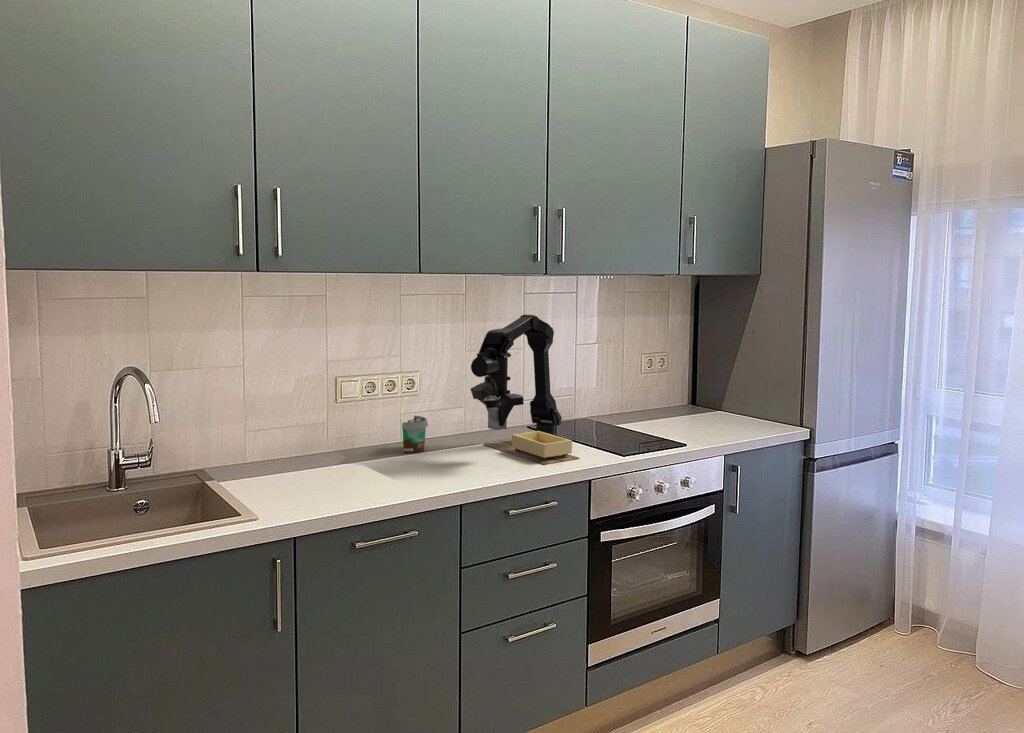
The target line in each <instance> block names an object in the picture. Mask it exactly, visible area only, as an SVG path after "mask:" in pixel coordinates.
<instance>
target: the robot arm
mask: <svg viewBox="0 0 1024 733" xmlns="http://www.w3.org/2000/svg"><path fill="white" fill-rule="evenodd" d="M523 335H524V336H526V339H527V340H526V341H527V345H528V346H529V348H530V350H531V351H532V353H533V370H534V388H535V390H534V391H535V392H534V393H535V395H534V397H533V398H532V400H530V402H529V405H530V406H529V408H530V410H529V413H530V417H531V423H532V424H535V426H536V427H535V429H534V431H541V432H544V433H548V434H551V435H555V436H558V435H557V434H558V433H557V428H558V426H560V425H561V424H562V420H563V417H562V415H561V413H560V411H559V410H558V408H557V401H556V399H555V398H554V396H553V395H552V393H551V379H550V378H551V377H550V358H549V356H550V354H549V350H550V348H551V346H552V345H553V342H554V335H555V332H554V329H553V327H552V326H551V324H549V323H547V322H546V321H544V320H542V319H540V318H539V317H538V316H537V315H535V314H526V313H525V314H522V315H520V316H519V317H518V318H517V319H516V320H514V321H512V322H510V324H508V325H506V326H504V327H502V328H493V329H490V330H488V331H487V332H486V334H485V336H484V339H483V341H482V344H481V346H480V349H479V352H477V353H476V357H475V358H474V359H473V360H472V362H471V364H470V369H471V373H472V374H473V376H475V377H478V378H482V377H483V378H484V381H483V382H481V383H478V384H477V385H475V386H473V387H470V392H471V396H472V398H473V400H478V401H479V402H480V403H482V405H484V406H485V408H486V410H487V412H488V408H494V407H497V408H498V413H499V424H500V426H503V425H504V423H505V421H506V419H508V417H509V415H510V413H511V412H512V410H513V408H514V407H516V406H522V405H525V404H524V397H523V396H522V394H519V393H518V394H517V393H511V390H510V389H508V381H511V376H508V366H509V365H508V364H509V362H508V361H509V358H511V357H512V354H511V352H509V350H511V348H512V347H513V346H514V341H515V340H517V339H518V338H520V337H521V336H523Z"/></svg>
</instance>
